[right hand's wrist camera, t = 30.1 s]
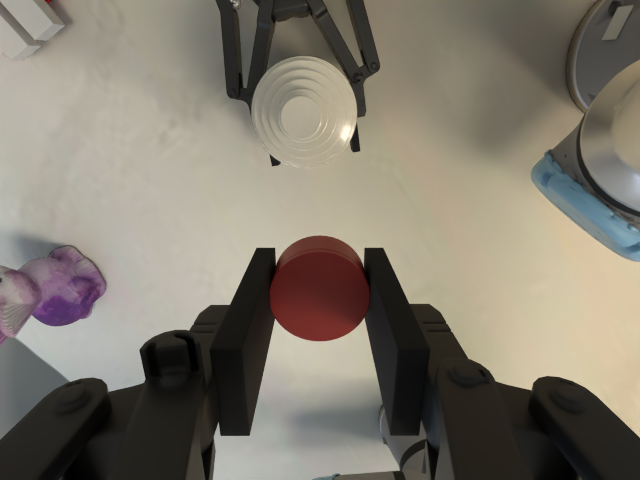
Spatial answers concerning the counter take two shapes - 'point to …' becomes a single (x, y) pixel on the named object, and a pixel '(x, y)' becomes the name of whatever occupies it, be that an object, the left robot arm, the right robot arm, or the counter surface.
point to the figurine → (48, 291)
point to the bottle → (304, 111)
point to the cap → (319, 289)
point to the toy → (26, 26)
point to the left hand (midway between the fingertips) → (316, 156)
